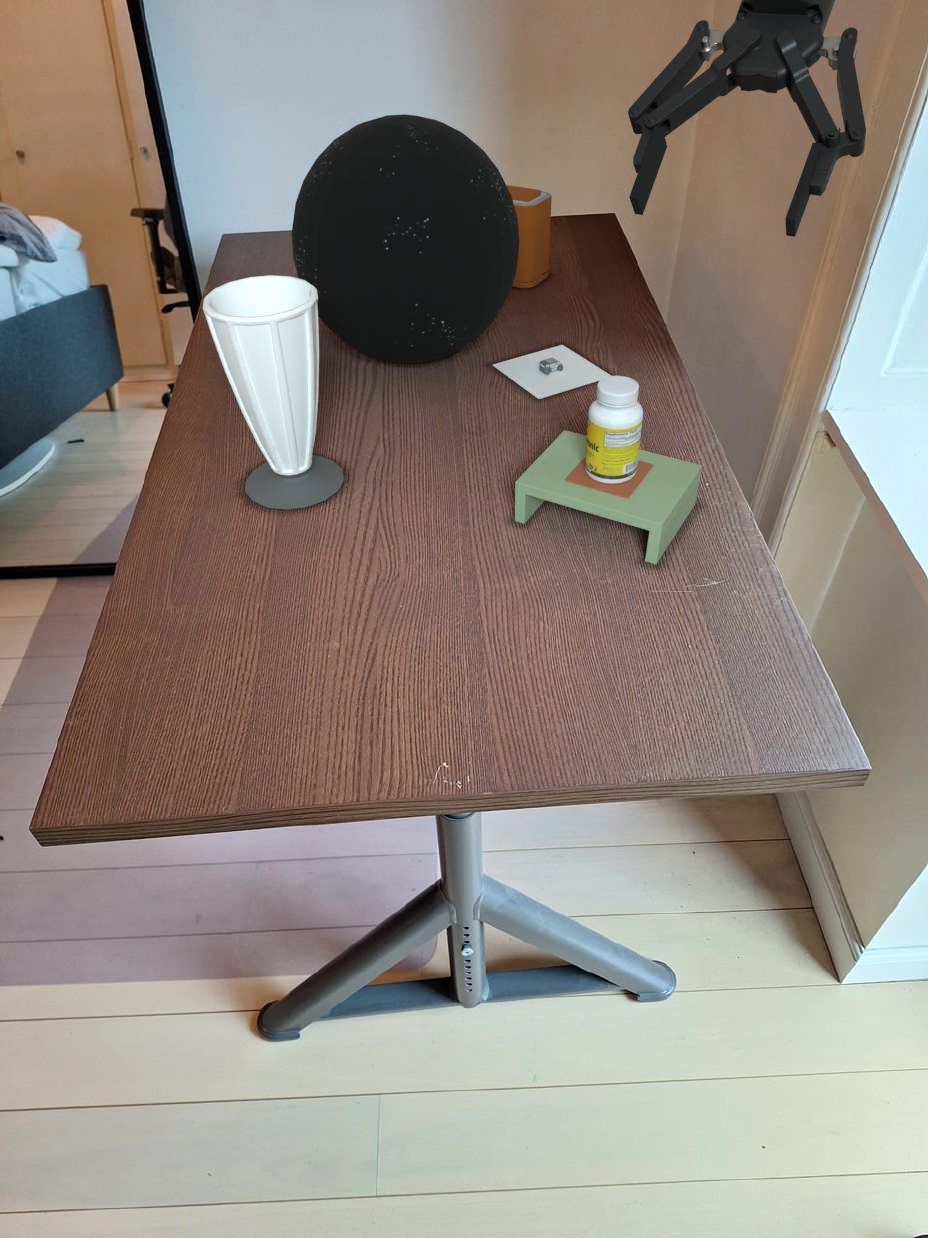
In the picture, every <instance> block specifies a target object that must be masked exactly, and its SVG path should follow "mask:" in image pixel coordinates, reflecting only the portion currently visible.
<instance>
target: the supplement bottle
mask: <svg viewBox="0 0 928 1238" xmlns="http://www.w3.org/2000/svg"><path fill="white" fill-rule="evenodd" d="M596 387H597V388H596V399H595V400H594V401H593V402H592V403H591V404H590V405H589V408H588V414H587V427H586V436H587V441H586V455H585V471H586V473H587V474H588V475H589V476H590V477H591V478H592V479H594V480H596V481H598V482H601V483H607V484H616V483H623V482H626V481H628V480H630V479H631V478H632V477H634V475H635V474H636V471H637V464H638V456H639V449H640V446H641V437H642V430H643V421H644V408H643V406H642V405H641V403H640V402H639V401H638V399H639V393H640V384H639V382H637V380H635V379H634V378H631V377H629V376H624V375H611V376H609V377H606V378H603V379H601V380H600V381H597V386H596Z"/></svg>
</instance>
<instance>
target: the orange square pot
mask: <svg viewBox="0 0 928 1238" xmlns="http://www.w3.org/2000/svg"><path fill="white" fill-rule="evenodd" d="M506 186H507V188H508V190H509V192H510V194H511V196H512V200H513V203H514V207H515V211H516V214H517V218H518V228H519V241H520V243H519V253H518V262H517V271H516V275H515V278H514V280H516V281H521V282H528V283H521V282H515V281H513V285H512V288H517V289H518V288H519V289H531V288H533V287H536V286H538V284H540V283H541V282H543V281H544V280H546V279H547V278H548V277H549V275H550V274H549V273H550V247H551V223H552V220H551V219H552V200H553V199H552V197H553V195H552V194H551V193H550V192H548V191H543V190H541V189H535V188H530V187H523V186H522V187H521V186H516V185H510V184H506ZM548 269H549V271H548V272H547V273H545V274H544V275H542V274H543V273H544V272H546V271H547V270H548ZM541 275H542V276H541ZM539 276H541V277H540V278H538V277H539ZM537 278H538V279H537ZM535 279H537V280H535ZM533 280H535V281H533ZM529 281H533V282H529Z"/></svg>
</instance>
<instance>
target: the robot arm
mask: <svg viewBox="0 0 928 1238" xmlns="http://www.w3.org/2000/svg"><path fill="white" fill-rule="evenodd" d="M835 3H836V0H741V1H740V4H739V7H738V9H737V13H736V16H735V19H734V21H733V23H732V24H731V25H730V26H729V27H728V28H727V30H725V31H724V30H717V29H712V28H710V26H709V22H708V21H707V20H705V19H701V20H699V21H697V22H696V23H695V25H694V27H693V29H692V32H691V34H690V35H689V37H688V40H687V42H686V44H684V46H683V47H682V48H681V49H680V50H679V51H678V52H677V54H676V55H675V56H674V57H673V58H672V59H671V61H669V63H668V64H667V65H666V66H665V67H664V68H663V70H661V71H660V73H659V74H658V75H657V77H655V78H654V80H653V81H652V82H651V83H650V84H649V85H648V86H647V87H646V88H645V90H644V91H643V92H642V93H641V94H640V96H639V97H638V98H637V99H636V100H635V101H634V102H633V103H632V104H631V106H630V107H629V108H628V111H627V114H628V115H627V116H628V119H629V121H630V125H631V129H632V132H633V133H634V134H635V135H640V138H639V140H638V144H637V146H636V149H635V152H634V154H633V157H632V163H633V167H634V171H635V173H636V177H635V180H634V182H633V186H632V188H631V190H630V194H629V197H628V198H629V202H630V205H631V207H632V209H633V212H634V215H639V216H643V215H644V212H645V210H646V207H647V205H648V202H649V198H650V196H651V193H652V190H653V188H654V186H655V182H656V180H657V177H658V174H659V172H660V171H659V170H660V168H661V165H662V162H663V159H664V157H665V154H666V151H667V148H668V143H667V141H666V137H667V136H669V135H670V134H671V133H672V132H674V131H675V130H677V129H678V128H679V127H681V126H682V125H683V124H684V123H686V122H687V121H688V120H689V119H691V118H692V117H694V116H695V115H696V114H698V113H699V112H700V111H702V110H703V109H704V108H705V107H707V106H708V105H710V104H711V103H712V102H713V101H715V100H716V99H718V98H719V97H725V96H727V95H728V94H730V93H731V92H732V91H733V90H735V89H736V88H737V87H739V88H740V91H741V92H753V91H762V92H765V93H767V94H778V92H779V91H781V90H784V89H785V88H786V90H787V92H788V94H789V96H790V98H791V100H792V101H793V103H795V104H796V107H797V109H798V110H799V112H800V115H801V116H802V118H803V120H804V121H805V125H806V126H807V128H808V130H809V132H810V134H811V136H812V138H813V140H814V141H813V142H812V144H811V146H810V148H809V152H808V155H807V156H806V157H807V158H806V160H805V163H804V166H803V168H802V171H801V173H800V177H799V179H798V182H797V185H796V188H795V191H794V193H793V196H792V199H791V201H790V204H789V207H788V210H787V213H786V216H785V218H784V219H785V236H787V237H793V238H795V237H796V236H797V233H798V230H799V227H800V225H801V222H802V219H803V216H804V214H805V211H806V208H807V206H808V202H809V199H810V197H811V196H818V197H821V196H822V195H823V194H824V193H825V191H826V189H827V187H828V184H829V181H830V179H831V177H832V173H833V170H834V168H835V165H836V162H837V161H838V160H839V159H840V158H842V157H846V156H850V157H852V158H858V157H860V156H861V155H863V153H864V151H865V145H866V136H867V128H866V121H865V113H864V110H863V103H862V98H861V93H860V87H859V80H858V75H857V70H856V64H855V61H856V57H857V46H858V34H859V33H858V31H859V30H858V29H857V28H856V27H852V26H851V27H848V28H846V29H844V31H842V34H841V36H824V33H825V30H826V28H827V24H828V22H829V19H830V16H831V14H832V11H833V8H834V5H835ZM718 51H722V53H721V54H719V55H717V57H715V58H714V59H713V60H712V57H713V55H714V54H715V53H716V52H718ZM822 57H823V58H826V59H827V65H828V67H830V68H831V70H832V71H836V79H835V80H836V87H837V93H838V99H839V105H840V111H841V117H842V123H843V129H844V131H841V127H837V125H836V123H835V121H834V119H833V117H832V115H831V113H830V111H829V110H828V108H827V106H826V103H825V102H824V99H823V98H822V96H821V94H820V92H819V91H818V90H819V89H818V88H817V86H816V84H815V82H814V80H813V78H812V77H811V74H810V70H809V69H810V68H811V67H812V66H814V65H815V64H816V63H817V62H819V60H820V59H821V58H822ZM711 60H712V62H711V64H710V66H709V67H708V68H707V69H706V70H704V71H703V72H702V73H701V74H699V75H698V76H696V77H695V75H696V74H697V73H698V72H699V70H701V68H702V66H703V64H704V62H710V61H711ZM728 69H729V72H730V73H728V74H727V71H728ZM694 77H695V78H694ZM693 78H694V79H693ZM692 79H693V80H692Z"/></svg>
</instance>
